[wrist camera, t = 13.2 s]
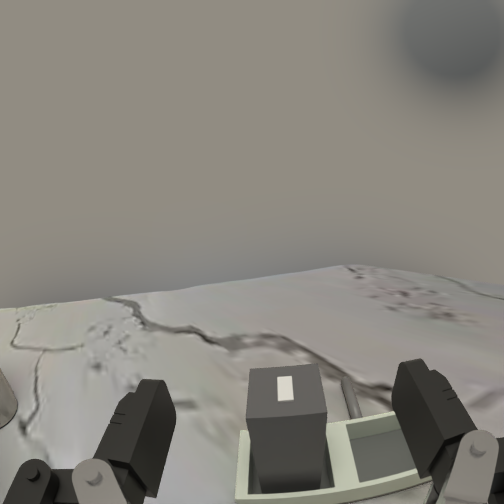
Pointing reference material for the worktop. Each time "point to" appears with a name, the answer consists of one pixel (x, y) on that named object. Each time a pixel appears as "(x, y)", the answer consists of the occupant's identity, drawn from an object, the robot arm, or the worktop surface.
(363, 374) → the worktop surface
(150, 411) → the robot arm
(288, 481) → the block
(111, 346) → the worktop surface
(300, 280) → the worktop surface
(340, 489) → the two-compartment tray
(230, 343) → the worktop surface
